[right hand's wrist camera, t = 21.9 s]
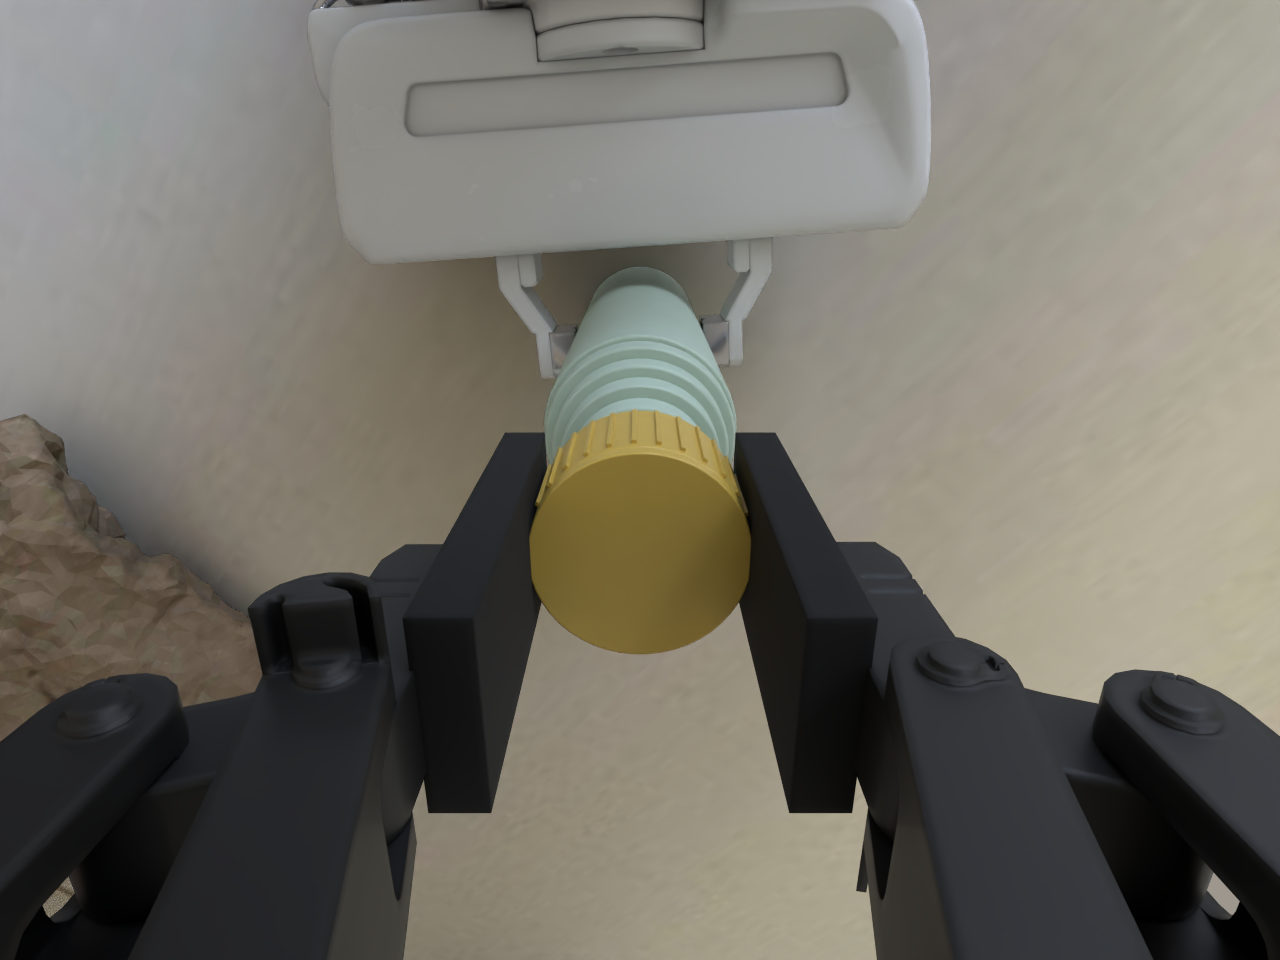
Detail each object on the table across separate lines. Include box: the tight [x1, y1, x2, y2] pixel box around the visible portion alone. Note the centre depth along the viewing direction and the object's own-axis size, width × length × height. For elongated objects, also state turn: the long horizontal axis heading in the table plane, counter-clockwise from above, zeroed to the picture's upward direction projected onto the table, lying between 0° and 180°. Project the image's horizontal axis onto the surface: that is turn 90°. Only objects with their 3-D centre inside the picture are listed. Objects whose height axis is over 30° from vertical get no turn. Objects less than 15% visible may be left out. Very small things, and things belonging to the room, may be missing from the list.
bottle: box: [544, 267, 737, 465], centre depth 24 cm, size 5×5×23 cm
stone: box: [0, 414, 262, 741], centre depth 38 cm, size 21×15×6 cm
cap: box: [529, 409, 751, 654], centre depth 13 cm, size 4×4×2 cm
